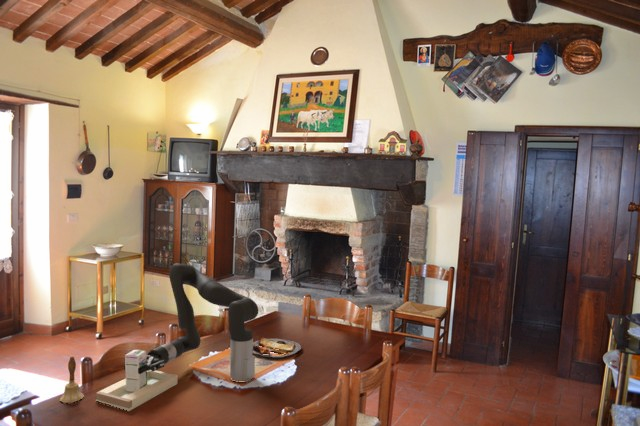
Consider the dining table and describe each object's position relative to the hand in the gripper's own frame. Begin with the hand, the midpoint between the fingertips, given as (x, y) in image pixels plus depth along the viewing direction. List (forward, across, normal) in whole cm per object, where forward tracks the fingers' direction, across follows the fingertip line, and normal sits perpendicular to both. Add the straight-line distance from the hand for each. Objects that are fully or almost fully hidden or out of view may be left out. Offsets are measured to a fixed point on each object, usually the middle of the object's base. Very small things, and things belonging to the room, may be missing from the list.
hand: (131, 369), depth 191 cm
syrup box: (-2, 0, +9) cm, 9 cm away
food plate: (-67, +24, +11) cm, 72 cm away
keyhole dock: (-3, 0, +10) cm, 11 cm away
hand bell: (+12, -18, +10) cm, 24 cm away
